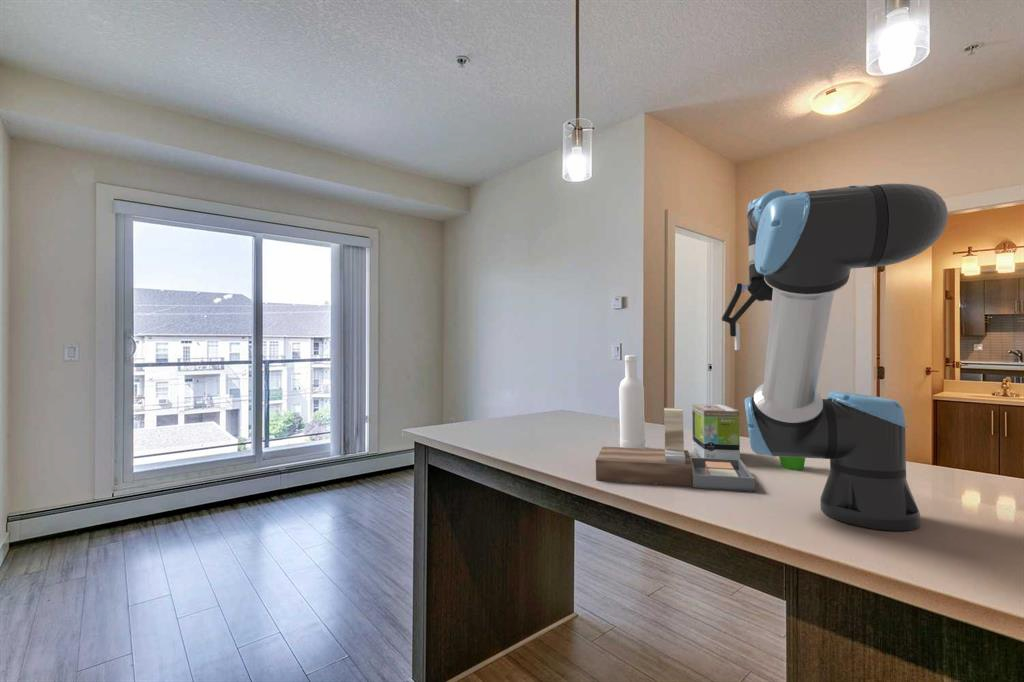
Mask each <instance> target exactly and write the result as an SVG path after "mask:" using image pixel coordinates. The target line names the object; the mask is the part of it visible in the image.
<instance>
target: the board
mask: <svg viewBox="0 0 1024 682" xmlns="http://www.w3.org/2000/svg"><path fill="white" fill-rule="evenodd" d="M684 454H685V465H678V464H666V461H665V448H663V449H662V448H646V447H645V448H625V447H620V446H602V448H601V449H600V451H599V453H598V454H597V457H596V459H595V478H596V479H595V481H602V482H603V481H605V482H606V481H607V482H618V483H632V482H637V483H636V484H647V483H657V484H656V485H662V484H668V485H667V486H677V485H682V486H681V487H692V486H693V474H692V462H691V459H690V457H691V456H690V453H689V450H687V449H684ZM684 485H685V486H684Z"/></svg>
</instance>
